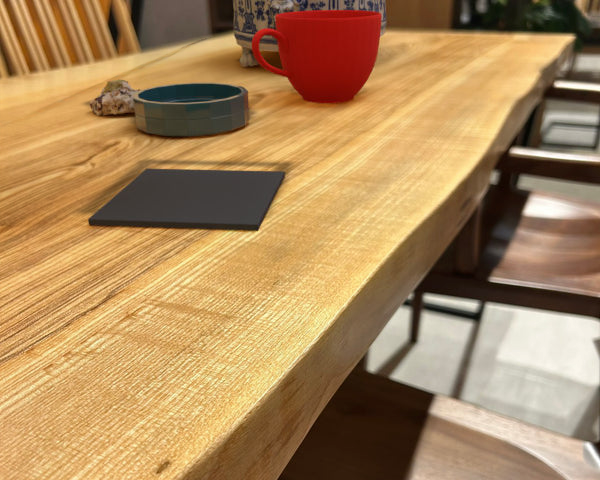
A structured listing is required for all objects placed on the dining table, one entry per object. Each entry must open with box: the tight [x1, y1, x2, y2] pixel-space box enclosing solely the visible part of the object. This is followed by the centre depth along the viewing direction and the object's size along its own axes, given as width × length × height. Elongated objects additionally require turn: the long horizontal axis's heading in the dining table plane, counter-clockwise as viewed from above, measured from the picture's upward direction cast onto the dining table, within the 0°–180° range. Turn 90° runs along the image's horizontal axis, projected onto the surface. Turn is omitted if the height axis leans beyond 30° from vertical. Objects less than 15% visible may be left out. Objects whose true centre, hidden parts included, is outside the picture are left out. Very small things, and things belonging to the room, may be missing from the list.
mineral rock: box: [89, 79, 141, 116], centre depth 78 cm, size 11×4×8 cm
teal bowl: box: [133, 82, 250, 138], centre depth 70 cm, size 12×12×4 cm
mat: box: [87, 168, 286, 232], centre depth 49 cm, size 12×12×1 cm
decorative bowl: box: [232, 0, 387, 68], centre depth 112 cm, size 42×27×15 cm, turn 169°
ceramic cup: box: [252, 10, 382, 105], centre depth 79 cm, size 13×17×10 cm
